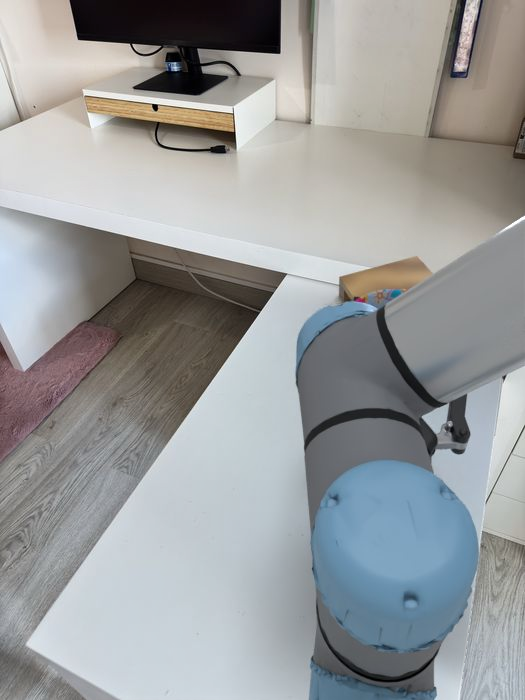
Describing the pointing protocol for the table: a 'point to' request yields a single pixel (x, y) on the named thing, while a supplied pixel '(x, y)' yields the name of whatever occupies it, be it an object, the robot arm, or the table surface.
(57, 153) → the table surface
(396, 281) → the shelf
